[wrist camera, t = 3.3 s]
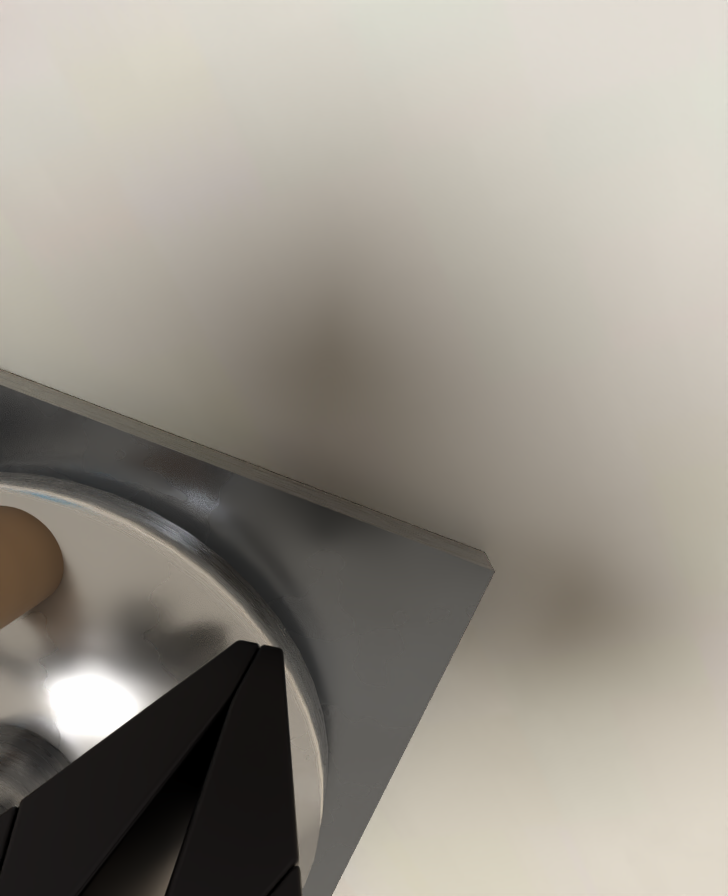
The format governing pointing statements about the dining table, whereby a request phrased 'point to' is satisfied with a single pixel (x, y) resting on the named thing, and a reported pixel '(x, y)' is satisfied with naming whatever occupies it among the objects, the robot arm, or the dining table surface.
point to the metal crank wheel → (122, 633)
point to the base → (286, 580)
